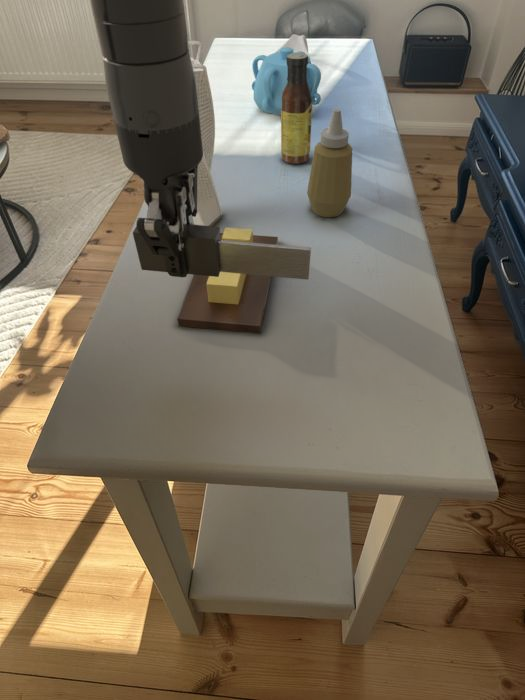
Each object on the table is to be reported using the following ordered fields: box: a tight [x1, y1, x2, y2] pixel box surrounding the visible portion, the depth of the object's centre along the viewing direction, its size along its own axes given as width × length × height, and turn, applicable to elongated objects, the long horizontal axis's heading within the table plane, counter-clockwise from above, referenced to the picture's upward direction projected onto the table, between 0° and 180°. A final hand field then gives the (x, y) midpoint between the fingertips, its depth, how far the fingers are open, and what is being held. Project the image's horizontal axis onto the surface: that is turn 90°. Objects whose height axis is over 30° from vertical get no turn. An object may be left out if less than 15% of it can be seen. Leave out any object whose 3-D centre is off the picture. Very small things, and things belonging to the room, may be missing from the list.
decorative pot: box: [251, 47, 322, 116], centre depth 119 cm, size 16×16×14 cm
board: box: [176, 232, 279, 334], centre depth 76 cm, size 12×22×2 cm, turn 172°
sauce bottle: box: [280, 53, 313, 165], centre depth 98 cm, size 7×6×20 cm
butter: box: [207, 271, 246, 305], centre depth 73 cm, size 4×10×4 cm, turn 172°
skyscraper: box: [188, 40, 223, 226], centre depth 79 cm, size 8×8×28 cm
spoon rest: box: [274, 33, 311, 59], centre depth 142 cm, size 24×12×7 cm, turn 167°
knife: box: [132, 224, 312, 281], centre depth 53 cm, size 19×2×5 cm, turn 81°
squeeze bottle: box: [306, 108, 353, 218], centre depth 84 cm, size 8×8×18 cm
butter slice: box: [222, 227, 254, 243], centre depth 78 cm, size 4×3×4 cm, turn 82°
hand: (182, 266), depth 55 cm, fingers closed on knife, 2 cm apart
